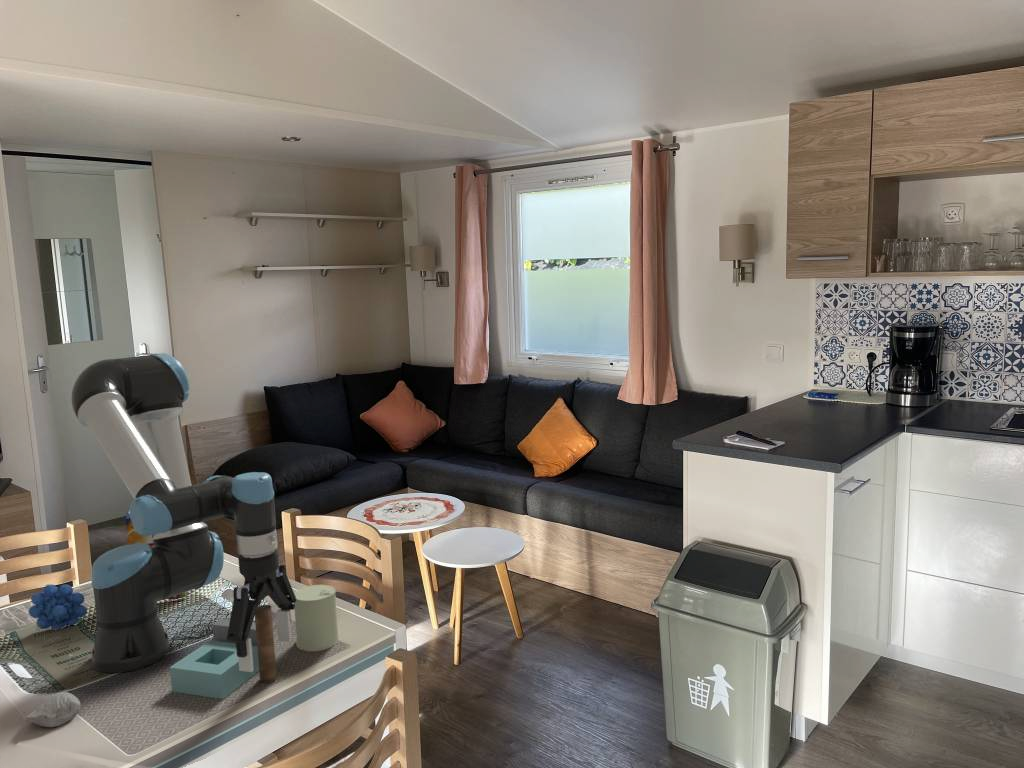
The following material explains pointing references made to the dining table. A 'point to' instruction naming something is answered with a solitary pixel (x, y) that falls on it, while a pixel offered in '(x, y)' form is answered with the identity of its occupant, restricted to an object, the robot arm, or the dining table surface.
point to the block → (211, 670)
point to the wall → (222, 630)
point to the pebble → (55, 710)
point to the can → (316, 618)
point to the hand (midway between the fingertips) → (266, 655)
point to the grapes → (57, 607)
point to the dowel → (265, 644)
